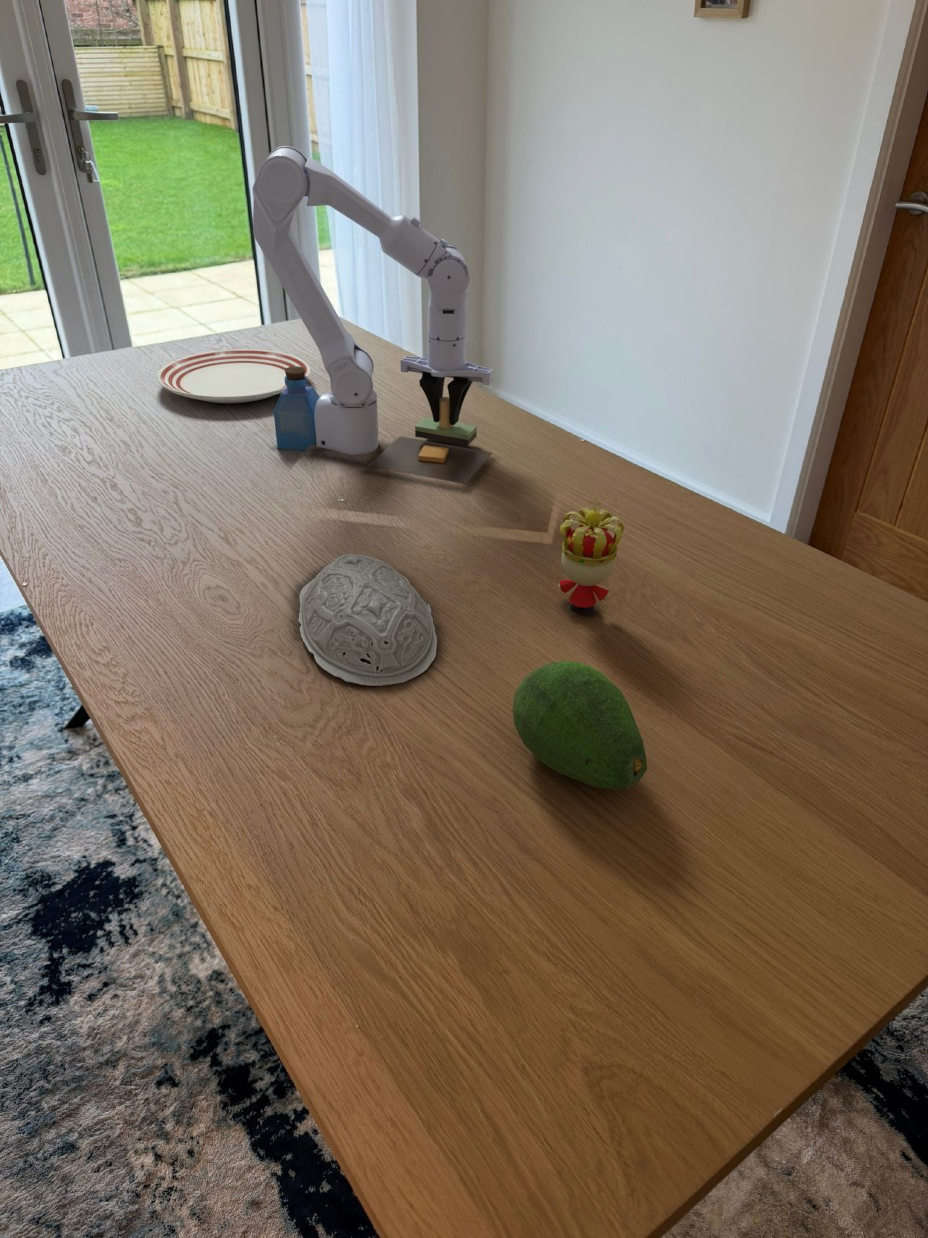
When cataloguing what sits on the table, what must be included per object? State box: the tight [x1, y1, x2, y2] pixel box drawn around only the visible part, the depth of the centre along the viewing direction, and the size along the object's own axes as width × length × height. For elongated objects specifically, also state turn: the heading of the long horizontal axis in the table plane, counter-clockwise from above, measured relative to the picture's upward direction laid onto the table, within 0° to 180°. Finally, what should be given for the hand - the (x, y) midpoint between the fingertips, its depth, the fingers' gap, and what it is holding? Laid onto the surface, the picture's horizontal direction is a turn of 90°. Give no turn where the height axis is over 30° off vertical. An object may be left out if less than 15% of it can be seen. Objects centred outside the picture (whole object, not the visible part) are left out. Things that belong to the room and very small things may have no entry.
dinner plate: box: [156, 348, 311, 404], centre depth 165 cm, size 27×27×3 cm
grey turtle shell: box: [298, 553, 438, 687], centre depth 103 cm, size 16×25×7 cm, turn 16°
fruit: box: [511, 659, 648, 791], centre depth 83 cm, size 15×10×10 cm, turn 28°
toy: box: [557, 497, 625, 616], centre depth 103 cm, size 7×7×15 cm
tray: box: [368, 435, 493, 485], centre depth 139 cm, size 16×12×1 cm
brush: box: [414, 396, 478, 447], centre depth 141 cm, size 9×4×6 cm, turn 69°
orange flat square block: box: [418, 445, 449, 463], centre depth 140 cm, size 4×4×1 cm
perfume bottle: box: [273, 366, 320, 451], centre depth 143 cm, size 6×6×12 cm
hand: (445, 421), depth 141 cm, fingers closed on brush, 2 cm apart
